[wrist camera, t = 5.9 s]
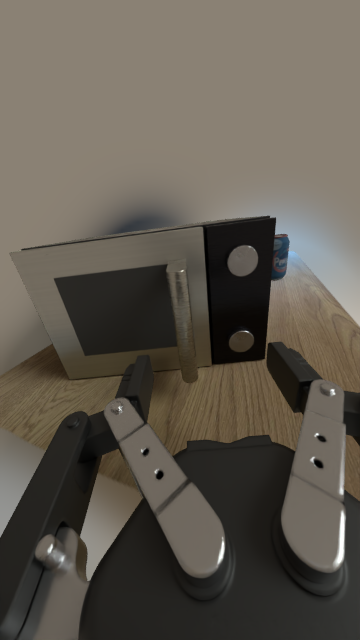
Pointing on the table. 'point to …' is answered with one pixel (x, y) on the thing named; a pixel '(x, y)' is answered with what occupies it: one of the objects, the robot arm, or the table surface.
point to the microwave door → (123, 302)
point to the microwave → (231, 282)
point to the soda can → (280, 256)
